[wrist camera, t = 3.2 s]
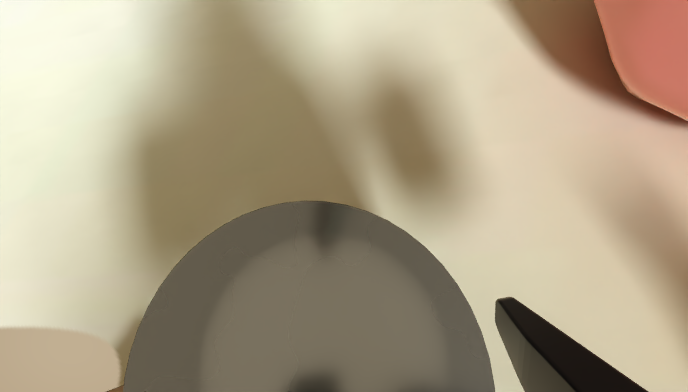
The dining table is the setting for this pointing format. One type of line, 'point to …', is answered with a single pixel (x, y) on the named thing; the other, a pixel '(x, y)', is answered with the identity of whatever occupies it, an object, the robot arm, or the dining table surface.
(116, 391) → the walnut box
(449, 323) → the tea tin
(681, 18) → the cell model
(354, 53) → the dining table surface
